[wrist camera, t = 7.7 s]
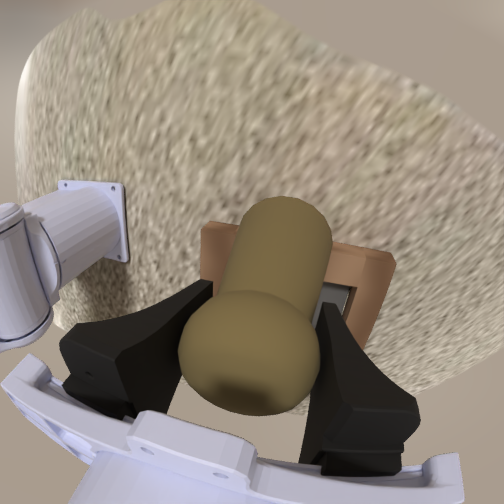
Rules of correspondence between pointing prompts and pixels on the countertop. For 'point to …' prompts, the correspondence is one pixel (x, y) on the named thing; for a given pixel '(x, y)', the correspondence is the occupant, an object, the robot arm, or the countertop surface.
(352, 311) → the holder
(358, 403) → the robot arm
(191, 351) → the cork
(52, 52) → the countertop surface
